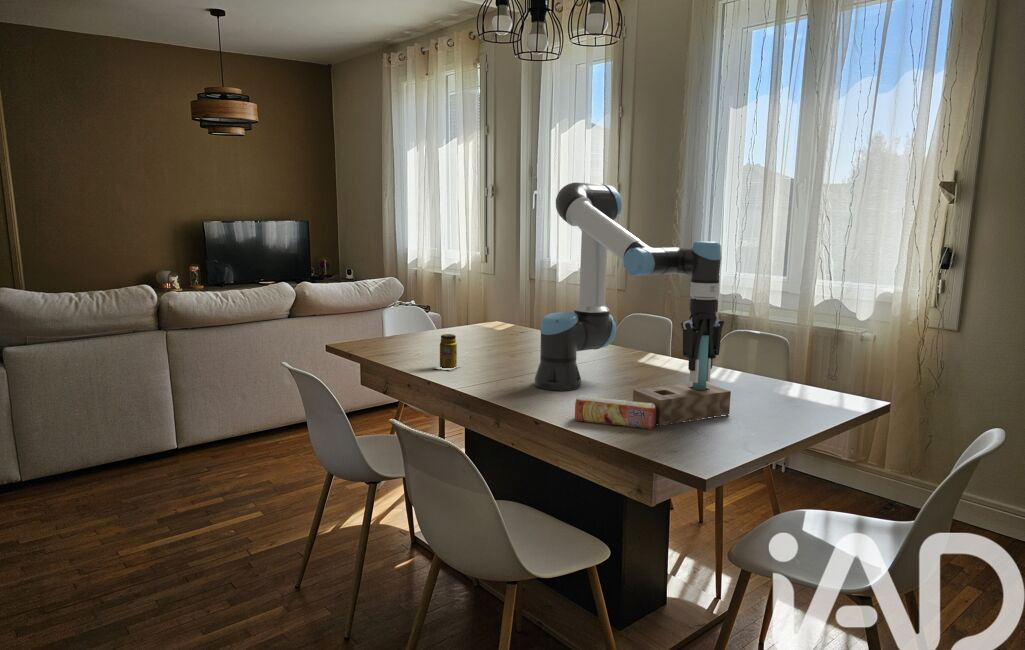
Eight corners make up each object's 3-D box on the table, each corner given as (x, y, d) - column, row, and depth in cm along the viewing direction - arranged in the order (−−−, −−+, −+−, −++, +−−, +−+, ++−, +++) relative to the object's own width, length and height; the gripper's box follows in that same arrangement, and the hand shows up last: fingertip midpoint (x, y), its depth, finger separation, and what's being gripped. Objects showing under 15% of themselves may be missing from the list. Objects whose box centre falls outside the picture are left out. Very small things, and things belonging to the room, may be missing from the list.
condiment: (461, 367, 247) (461, 334, 245) (450, 371, 239) (450, 338, 237) (443, 365, 249) (443, 332, 248) (431, 369, 242) (431, 336, 240)
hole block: (659, 426, 179) (660, 400, 178) (632, 414, 190) (633, 389, 189) (729, 415, 189) (730, 391, 188) (699, 405, 200) (701, 381, 199)
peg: (697, 400, 189) (701, 336, 186) (689, 397, 192) (692, 334, 189) (708, 399, 190) (711, 336, 188) (699, 396, 194) (702, 334, 191)
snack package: (656, 424, 181) (657, 399, 180) (653, 431, 175) (654, 406, 174) (578, 416, 188) (578, 392, 186) (572, 423, 181) (573, 398, 180)
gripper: (689, 300, 180) (684, 387, 184) (737, 298, 187) (731, 381, 191) (671, 297, 187) (667, 381, 190) (717, 295, 194) (713, 375, 197)
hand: (699, 381), depth 191 cm, fingers closed on peg, 3 cm apart
